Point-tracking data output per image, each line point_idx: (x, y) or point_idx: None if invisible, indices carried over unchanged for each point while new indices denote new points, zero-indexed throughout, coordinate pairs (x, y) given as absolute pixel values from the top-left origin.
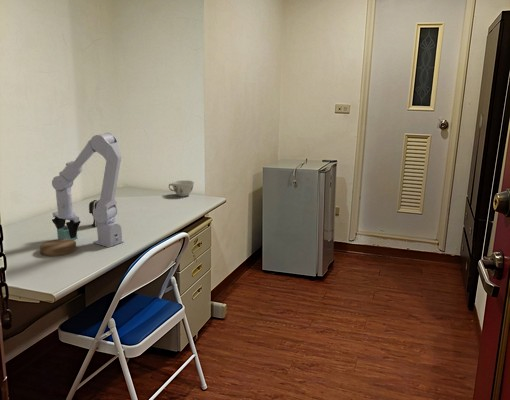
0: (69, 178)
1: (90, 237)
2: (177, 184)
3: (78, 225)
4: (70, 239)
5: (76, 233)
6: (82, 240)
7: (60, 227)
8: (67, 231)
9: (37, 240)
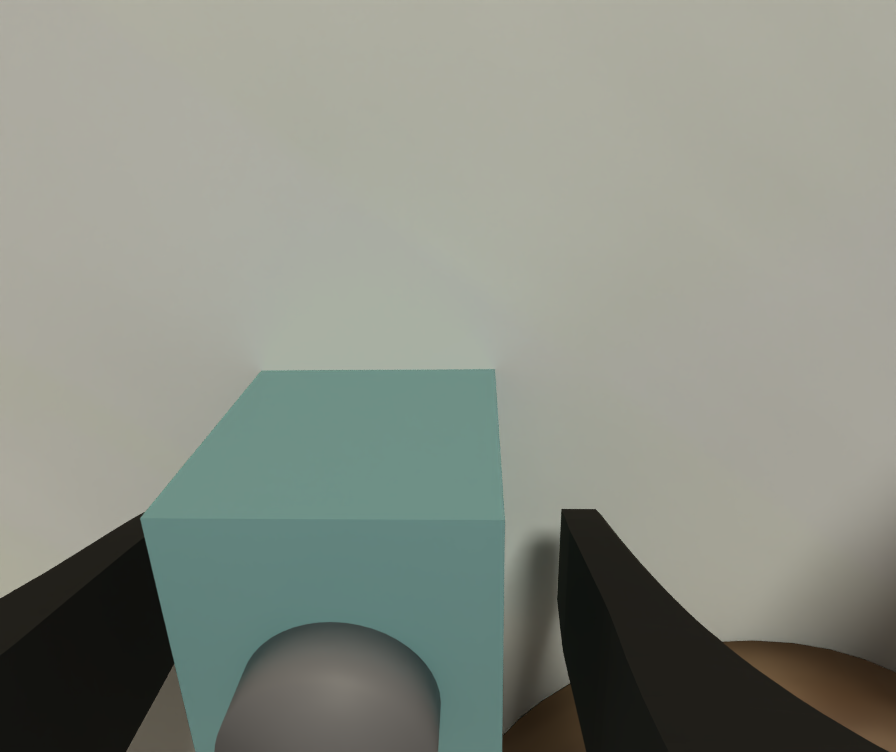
0: None
1: (656, 114)
2: None
3: (823, 732)
4: None
5: (626, 548)
6: (663, 367)
7: (93, 718)
8: (501, 747)
9: None
